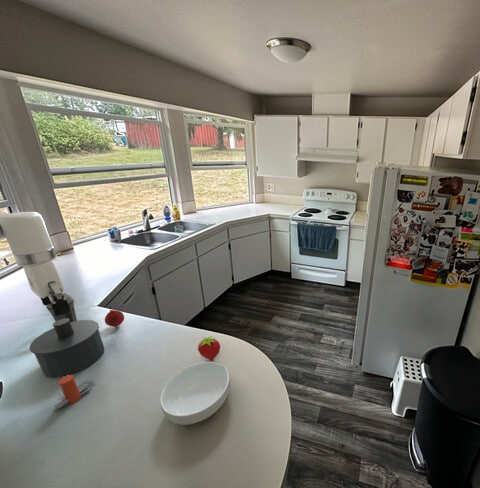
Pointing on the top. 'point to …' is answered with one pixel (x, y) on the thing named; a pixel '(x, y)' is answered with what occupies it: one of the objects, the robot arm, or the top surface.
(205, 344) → the strawberry
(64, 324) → the lid
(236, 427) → the top surface
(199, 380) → the cereal bowl
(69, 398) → the blade
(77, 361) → the processor bowl
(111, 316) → the onion
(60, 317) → the beverage cup
